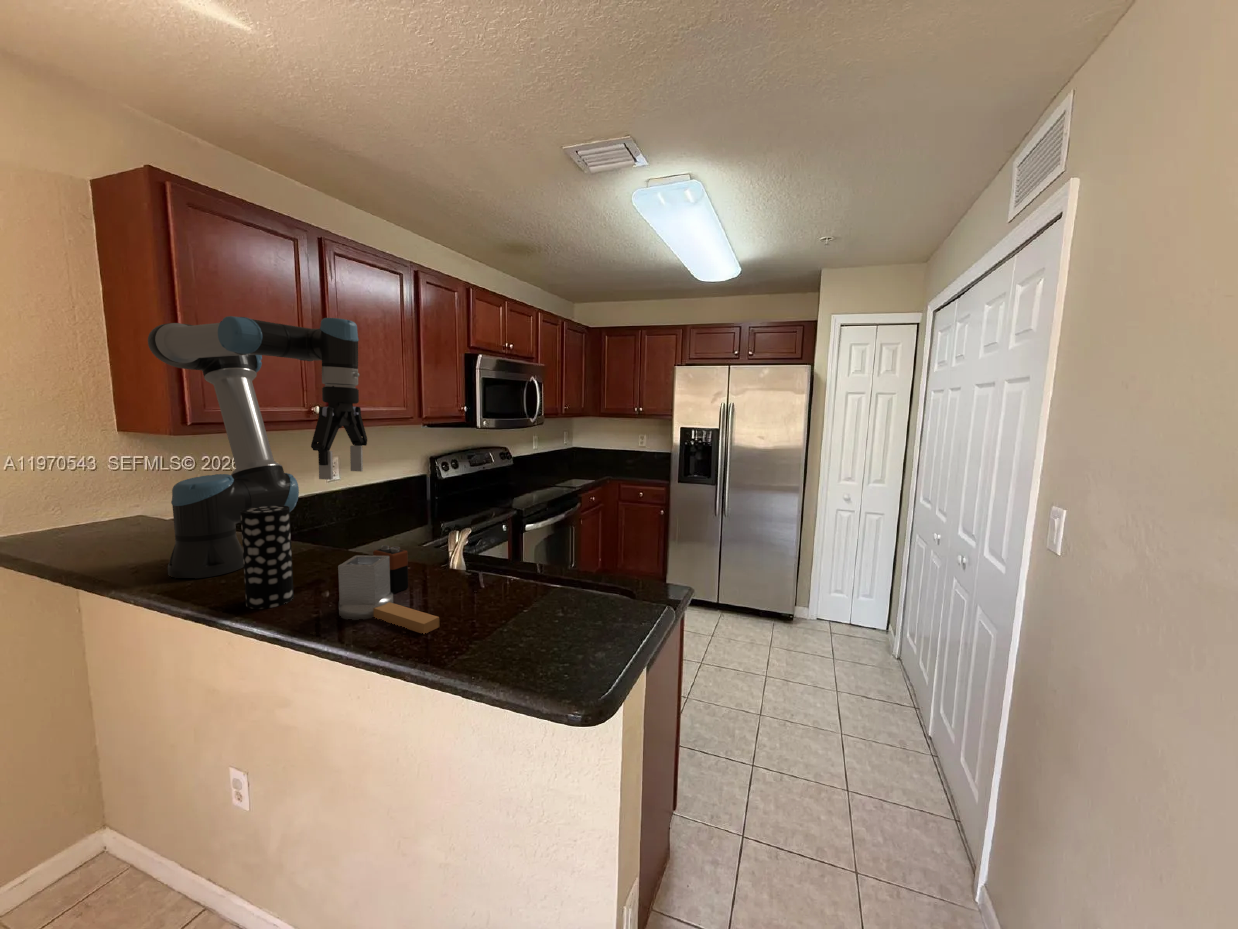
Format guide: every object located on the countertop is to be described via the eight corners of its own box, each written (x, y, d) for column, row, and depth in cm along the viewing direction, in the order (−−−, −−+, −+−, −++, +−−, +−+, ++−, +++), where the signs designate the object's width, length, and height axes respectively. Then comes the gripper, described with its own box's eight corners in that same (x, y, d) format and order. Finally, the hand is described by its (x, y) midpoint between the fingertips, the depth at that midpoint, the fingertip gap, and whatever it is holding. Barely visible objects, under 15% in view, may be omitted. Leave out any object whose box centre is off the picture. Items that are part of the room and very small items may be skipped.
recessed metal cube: (339, 604, 97) (338, 565, 96) (356, 591, 104) (355, 555, 103) (375, 605, 98) (374, 566, 97) (390, 592, 105) (389, 555, 104)
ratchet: (328, 613, 99) (327, 584, 98) (372, 597, 108) (372, 570, 107) (409, 641, 88) (409, 609, 87) (451, 620, 97) (451, 591, 96)
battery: (392, 594, 110) (391, 551, 108) (373, 588, 113) (371, 546, 112) (409, 588, 113) (408, 546, 112) (389, 583, 117) (388, 542, 115)
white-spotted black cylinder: (289, 591, 110) (284, 503, 108) (297, 602, 104) (293, 510, 102) (243, 600, 104) (237, 508, 102) (249, 612, 98) (243, 515, 96)
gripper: (326, 385, 103) (328, 484, 106) (381, 388, 128) (381, 468, 130) (290, 383, 103) (293, 482, 106) (352, 387, 128) (353, 467, 130)
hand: (342, 475), depth 118 cm, fingers open, 13 cm apart
